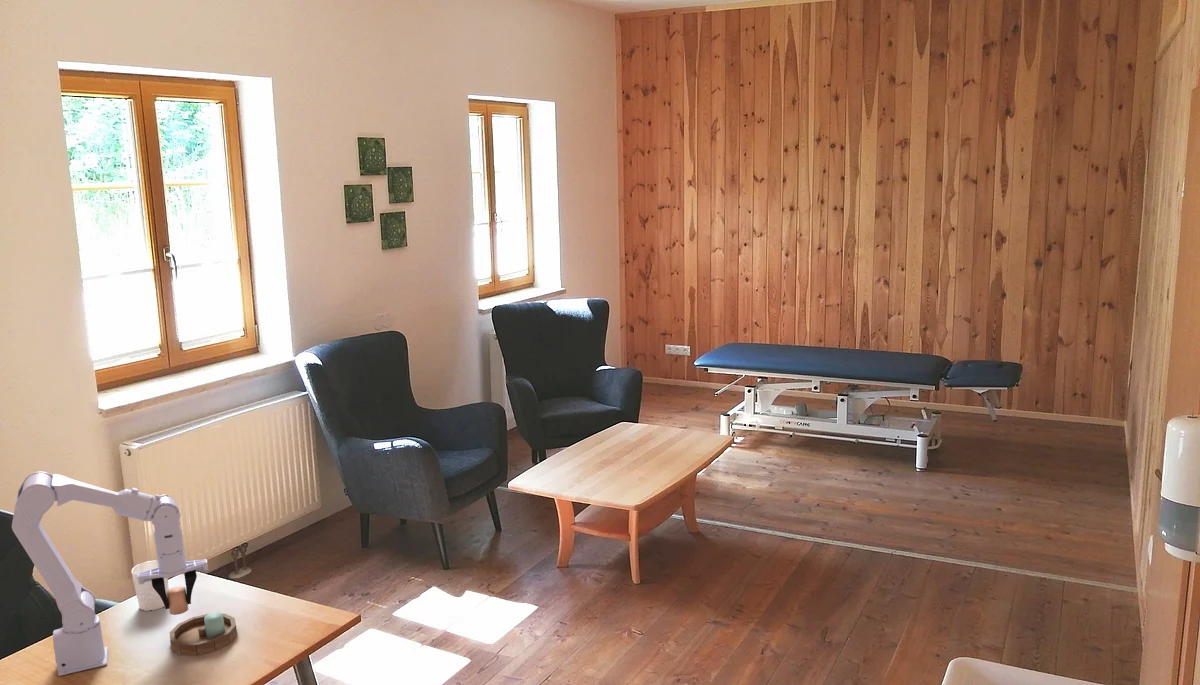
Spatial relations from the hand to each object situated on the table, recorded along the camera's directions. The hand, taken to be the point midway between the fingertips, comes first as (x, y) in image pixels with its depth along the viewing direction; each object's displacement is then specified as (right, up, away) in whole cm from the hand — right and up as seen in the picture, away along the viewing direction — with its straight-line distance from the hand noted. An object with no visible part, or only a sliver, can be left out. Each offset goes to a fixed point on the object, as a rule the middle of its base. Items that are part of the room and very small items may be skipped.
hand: (178, 604), depth 219 cm
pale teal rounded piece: (+9, -7, 0) cm, 11 cm away
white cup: (-14, -5, +19) cm, 24 cm away
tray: (+5, -8, +1) cm, 10 cm away
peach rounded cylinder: (0, -1, +1) cm, 2 cm away
